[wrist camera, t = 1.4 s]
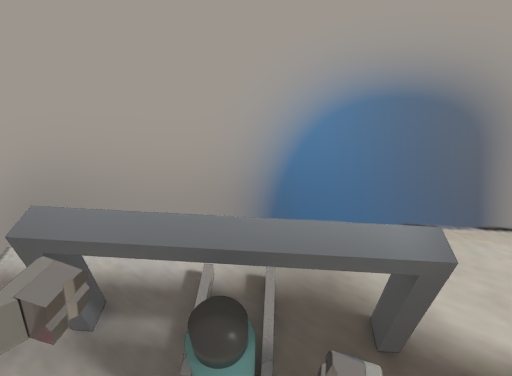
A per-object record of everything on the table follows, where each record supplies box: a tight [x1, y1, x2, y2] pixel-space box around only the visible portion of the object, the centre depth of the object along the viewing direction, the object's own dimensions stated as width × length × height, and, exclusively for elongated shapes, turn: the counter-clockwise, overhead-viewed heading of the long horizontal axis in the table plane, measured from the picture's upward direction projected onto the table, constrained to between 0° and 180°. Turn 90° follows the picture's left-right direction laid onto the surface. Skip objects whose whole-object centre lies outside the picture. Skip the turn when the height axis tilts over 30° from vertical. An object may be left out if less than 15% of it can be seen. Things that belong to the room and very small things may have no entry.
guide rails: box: [179, 264, 275, 376], centre depth 40 cm, size 10×14×2 cm
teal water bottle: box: [185, 296, 255, 376], centre depth 31 cm, size 6×6×14 cm
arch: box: [5, 206, 458, 352], centre depth 35 cm, size 39×4×17 cm, turn 86°
